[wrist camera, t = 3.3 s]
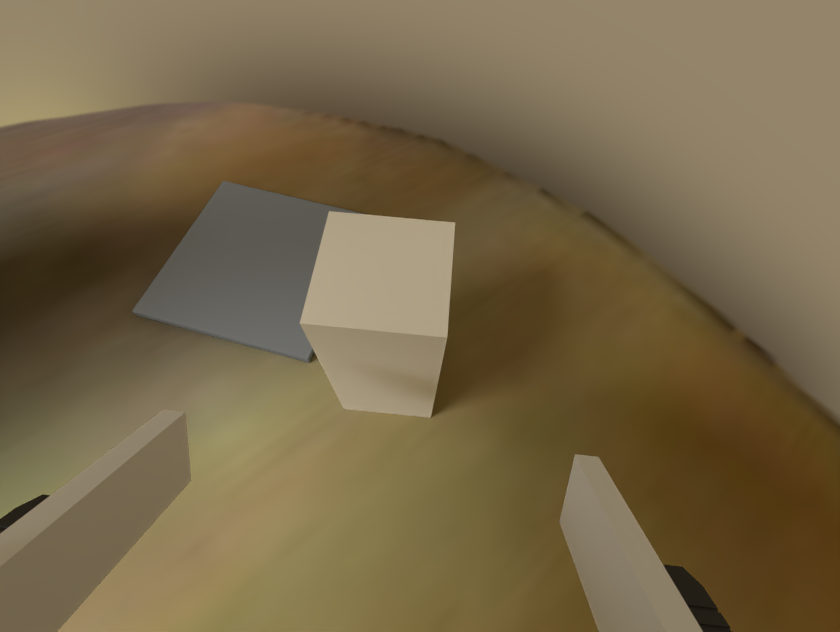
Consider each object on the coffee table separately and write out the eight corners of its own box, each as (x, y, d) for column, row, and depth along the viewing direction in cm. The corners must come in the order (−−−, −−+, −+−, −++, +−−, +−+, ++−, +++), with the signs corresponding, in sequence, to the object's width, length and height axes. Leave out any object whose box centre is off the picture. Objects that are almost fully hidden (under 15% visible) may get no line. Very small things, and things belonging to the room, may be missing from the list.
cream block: (343, 408, 28) (299, 323, 16) (358, 330, 31) (329, 211, 19) (430, 417, 28) (447, 337, 16) (437, 338, 31) (455, 222, 19)
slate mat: (136, 315, 31) (131, 311, 30) (225, 185, 37) (223, 180, 37) (309, 362, 29) (307, 359, 29) (371, 219, 36) (370, 215, 35)
